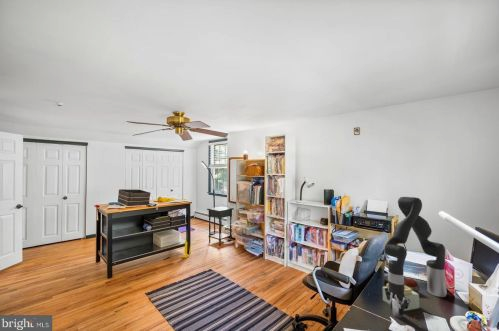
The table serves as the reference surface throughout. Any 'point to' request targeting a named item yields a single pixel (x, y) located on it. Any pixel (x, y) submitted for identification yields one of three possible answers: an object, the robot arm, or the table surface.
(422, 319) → the table surface
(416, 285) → the figurine
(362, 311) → the table surface
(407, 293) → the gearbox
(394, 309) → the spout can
